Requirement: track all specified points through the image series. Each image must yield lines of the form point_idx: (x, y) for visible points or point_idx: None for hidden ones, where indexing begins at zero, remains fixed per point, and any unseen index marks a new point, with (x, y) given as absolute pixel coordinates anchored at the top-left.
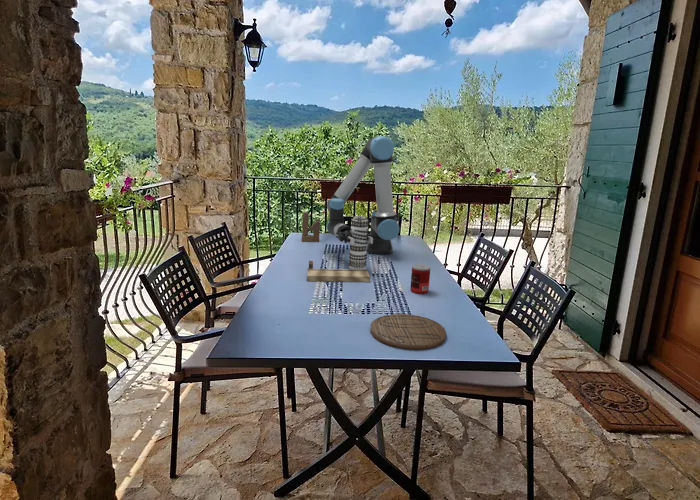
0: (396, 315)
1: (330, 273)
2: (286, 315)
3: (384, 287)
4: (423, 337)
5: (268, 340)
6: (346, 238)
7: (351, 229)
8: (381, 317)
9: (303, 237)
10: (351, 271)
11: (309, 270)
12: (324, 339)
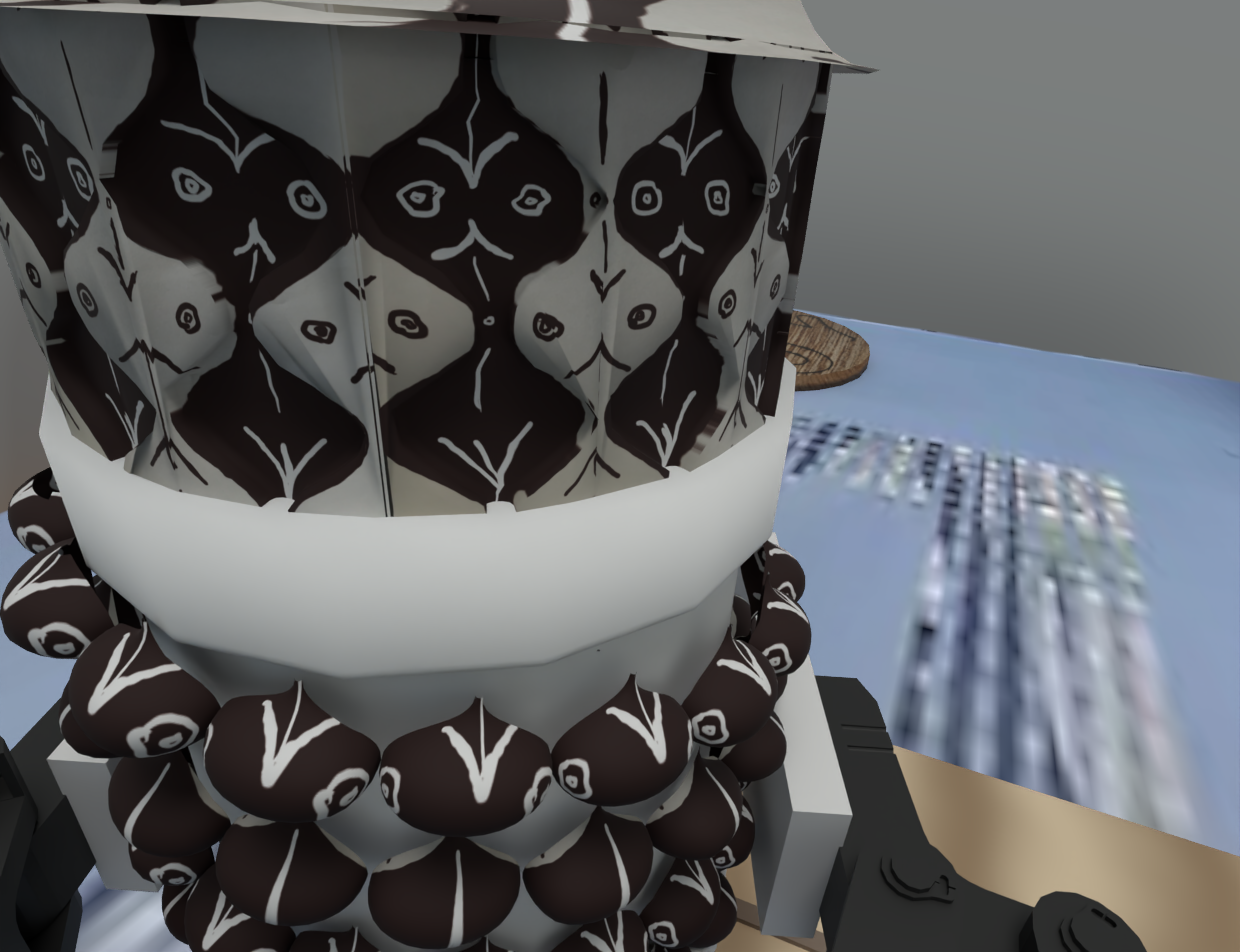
0: None
1: (1058, 888)
2: (1232, 490)
3: None
4: None
5: (1220, 409)
6: (898, 763)
7: (671, 712)
8: (806, 373)
9: None
10: (738, 868)
11: None
12: (1024, 378)
